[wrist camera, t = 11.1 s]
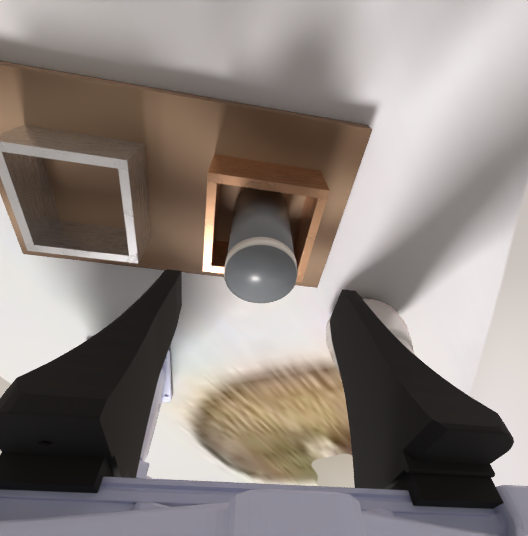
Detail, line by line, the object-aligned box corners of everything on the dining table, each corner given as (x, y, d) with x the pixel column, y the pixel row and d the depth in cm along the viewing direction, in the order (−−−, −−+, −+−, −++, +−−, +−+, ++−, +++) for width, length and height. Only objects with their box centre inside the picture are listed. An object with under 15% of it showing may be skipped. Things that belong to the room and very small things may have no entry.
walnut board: (315, 279, 25) (317, 287, 25) (31, 246, 23) (23, 253, 22) (367, 125, 18) (372, 129, 18) (-37, 54, 16) (-53, 55, 15)
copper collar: (297, 256, 23) (301, 282, 20) (208, 245, 22) (202, 270, 20) (320, 170, 19) (329, 190, 17) (214, 154, 18) (207, 172, 16)
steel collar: (151, 238, 22) (138, 263, 19) (53, 226, 21) (27, 250, 19) (144, 143, 18) (127, 160, 15) (24, 124, 17) (-14, 139, 15)
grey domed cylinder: (282, 236, 22) (289, 307, 16) (231, 229, 21) (220, 299, 16) (293, 188, 20) (306, 252, 14) (237, 179, 19) (227, 241, 14)
